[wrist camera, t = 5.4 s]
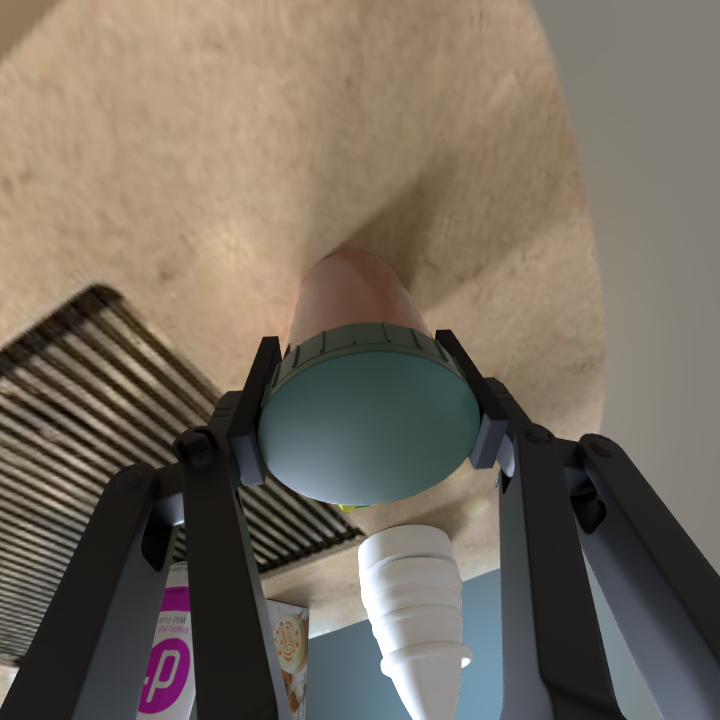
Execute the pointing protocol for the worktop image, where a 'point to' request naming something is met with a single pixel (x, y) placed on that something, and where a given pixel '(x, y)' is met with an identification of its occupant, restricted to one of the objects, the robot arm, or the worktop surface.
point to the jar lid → (367, 415)
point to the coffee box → (291, 650)
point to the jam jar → (351, 297)
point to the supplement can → (171, 655)
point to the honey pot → (416, 615)
